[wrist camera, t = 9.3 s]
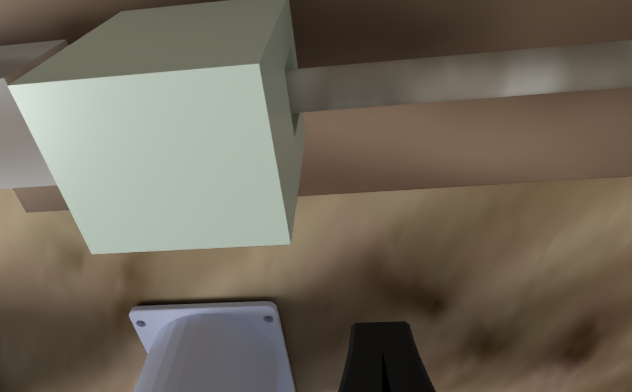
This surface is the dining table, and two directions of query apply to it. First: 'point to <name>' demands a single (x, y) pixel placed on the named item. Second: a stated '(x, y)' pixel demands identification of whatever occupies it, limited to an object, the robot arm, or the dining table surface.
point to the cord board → (397, 90)
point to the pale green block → (173, 127)
